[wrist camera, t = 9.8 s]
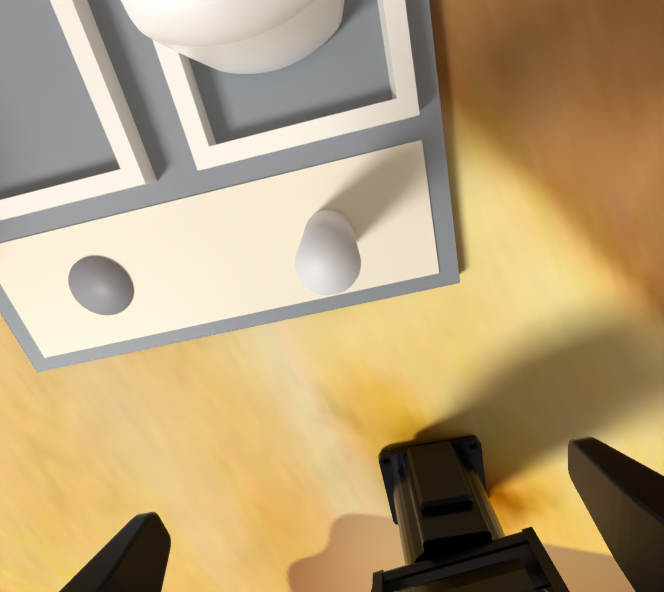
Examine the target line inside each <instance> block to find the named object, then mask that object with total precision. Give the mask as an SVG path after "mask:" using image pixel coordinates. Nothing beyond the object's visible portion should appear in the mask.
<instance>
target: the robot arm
mask: <svg viewBox="0 0 664 592" xmlns="http://www.w3.org/2000/svg"><path fill="white" fill-rule="evenodd" d="M472 443H474V444H472ZM470 444H472V445H470ZM386 458H389V459H386ZM379 464H380V468H381V472H382V476H383V480H384V484H385V489H386V493H387V497H388V501H389V505H390V509H391V513H392V518H393V521H394V523H395V524H397V525H398V526H399V532H400V537H401V543H402V548H403V554H404V560H405V566H402V567H398V568H395V569H391V570H388V571H383V570H380V571H377V572H374V573H373V584H372V589H371V592H570V591H569V590H568V588H567V587H566V584H565V583H564V581H563V579H562V578H561V576H560V575H559V572H558V571H557V569H556V567H555V566H554V564H553V562H552V561H551V559H550V557H549V555H548V554H547V552H546V550H545V548H544V547H543V545H542V543H541V541H540V540H539V538H538V536H537V535H536V533H535V531H534V529H533V528H532V527H529V528H525V529H522V532H519V533H516V534H512V535H509V536H505V534H504V532H503V530H502V527H501V525H500V523H499V521H498V518H497V516H496V514H495V512H494V509H493V507H492V505H491V503H490V501H489V498H488V496H487V494H486V487H485V478H484V469H483V459H482V450H481V444H480V441H479V439H478V438H477V437H476V436H465V437H459V438H454V439H448V440H442V441H437V442H431V443H425V444H420V445H414V446H408V447H403V448H397V449H392V450H386V451H382V452H381V453H380V454H379ZM568 471H569V475H570V477H571V480H572V482H573V484H574V486H575V487H576V489H577V491H578V493H579V495H580V497H581V499H582V500H583V502H584V504H585V506H586V508H587V510H588V511H589V513H590V515H591V517H592V519H593V521H594V522H595V524H596V526H597V528H598V530H599V532H600V533H601V535H602V537H603V539H604V541H605V543H606V544H607V546H608V548H609V550H610V552H611V553H612V555H613V557H614V559H615V560H616V562H617V564H618V565H619V567H620V568H621V570H622V571H623V573H624V574H625V576H626V578H627V579H628V581H629V582H630V583H631V585H632V587H633V588H634V590H635V591H636V592H664V476H663V475H661V474H659V473H657V472H655V471H654V470H652V469H650V468H648V467H646V466H645V465H643V464H641V463H639V462H637V461H635V460H634V459H632V458H630V457H628V456H626V455H625V454H623V453H621V452H619V451H617V450H616V449H614V448H612V447H610V446H608V445H606V444H605V443H603V442H601V441H599V440H597V439H595V438H593V437H582V438H576V439H572V440H570V441H569V444H568ZM170 547H171V538H170V535H169V533H168V531H167V529H166V528H165V526H164V524H163V522H162V521H161V519H160V517H159V515H158V514H157V513H155V512H149V513H143V514H139V515H136V516H135V517H134V518H133V519H131V520H130V521H129V522H128V523H127V524H126V525H125V526H124V527H123V528H122V529H121V530H120V531H119V532H118V533H117V534H116V535H115V536H114V537H113V538H112V539H111V540H110V541H109V542H108V543H107V544H106V545H105V546H104V547H103V548H102V549H101V550H100V551H99V552H98V553H97V554H96V555H95V556H94V557H93V558H92V559H91V560H90V561H89V562H88V563H87V564H86V565H85V566H84V567H83V568H82V569H81V570H80V571H79V572H78V573H77V574H76V575H75V576H74V577H73V578H72V579H71V580H70V581H69V582H68V583H67V584H66V585H65V586H64V587H63V588H62V589H61V590H60V591H59V592H161V590H162V586H163V581H164V576H165V571H166V567H167V562H168V557H169V552H170Z"/></svg>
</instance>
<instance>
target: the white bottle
mask: <svg viewBox="0 0 664 592" xmlns="http://www.w3.org/2000/svg"><path fill="white" fill-rule="evenodd" d="M121 2H122V4H123V6H124V8H125V10H126V12H127V14H128V16H129V17H130V19H131V20H132V22H133V23H134V24H135V26H136V27H137V28H138V29H139V31H141V32H142V33H143V34H144V35H146V36H148V37H149V38H151V39H153V40H155V41H156V42H158V43H160V44H162V45H164V46H166V47H168V48H170V49H172V50H174V51H176V52H178V53H181V54H183V55H185V56H187V57H189V58H191V59H194V60H196V61H198V62H200V63H203V64H205V65H207V66H209V67H212V68H214V69H216V70H218V71H222V72H226V73H234V74H258V73H266V72H271V71H275V70H279V69H282V68H285V67H287V66H290V65H292V64H294V63H296V62H298V61H300V60H302V59H304V58H305V57H307V56H308V55H310V54H311V53H313V52H314V51H315V50H317V49H318V48H319V47H320V46H322V45H323V44H324V43H325V42H326V41H327V40H328V39H329V38H330V37H331V36H332V35H333V34H334V33H335V32H336V31H337V29H338V27H339V25H340V23H341V20H342V14H343V7H344V0H121Z"/></svg>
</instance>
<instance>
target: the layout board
mask: <svg viewBox="0 0 664 592" xmlns="http://www.w3.org/2000/svg"><path fill="white" fill-rule="evenodd" d="M457 283H460V278H459V269H458V260H457V250H456V241H455V232H454V223H453V214H452V205H451V196H450V187H449V177H448V168H447V159H446V150H445V141H444V132H443V123H442V114H441V105H440V95H439V86H438V77H437V68H436V59H435V50H434V41H433V32H432V22H431V13H430V4H429V0H344V7H343V14H342V20H341V23H340V25H339V27H338V29H337V31H336V32H335V33H334V34H333V35H332V36H331V37H330V38H329V39H328V40H327V41H326V42H325V43H324V44H323V45H322V46H320V47H319V48H318V49H317V50H315V51H314V52H313V53H311V54H310V55H308V56H307V57H305V58H304V59H302V60H300V61H298V62H296V63H294V64H292V65H290V66H287V67H285V68H282V69H279V70H275V71H271V72H266V73H258V74H234V73H226V72H222V71H218V70H216V69H214V68H212V67H209V66H207V65H205V64H203V63H200V62H198V61H196V60H194V59H191V58H189V57H187V56H185V55H183V54H181V53H178V52H176V51H174V50H172V49H170V48H168V47H166V46H164V45H162V44H160V43H158V42H156V41H155V40H153V39H151V38H149V37H148V36H146V35H144V34H143V33H142V32H141V31H139V29H138V28H137V27H136V26H135V24H134V23H133V22H132V20H131V19H130V17H129V16H128V14H127V12H126V10H125V8H124V6H123V4H122V2H121V0H0V313H1V315H2V317H3V318H4V320H5V322H6V323H7V325H8V326H9V328H10V330H11V331H12V333H13V334H14V336H15V338H16V339H17V341H18V343H19V344H20V346H21V347H22V349H23V351H24V352H25V354H26V356H27V357H28V359H29V360H30V362H31V364H32V365H33V367H34V369H35V370H36V372H41V371H45V370H50V369H55V368H60V367H64V366H69V365H74V364H79V363H83V362H88V361H93V360H97V359H102V358H107V357H112V356H116V355H121V354H126V353H131V352H135V351H140V350H145V349H149V348H154V347H159V346H164V345H168V344H173V343H178V342H182V341H187V340H192V339H197V338H201V337H206V336H211V335H216V334H220V333H225V332H230V331H234V330H239V329H244V328H249V327H253V326H258V325H263V324H268V323H272V322H277V321H282V320H286V319H291V318H296V317H301V316H305V315H310V314H315V313H320V312H324V311H329V310H334V309H338V308H343V307H348V306H353V305H357V304H362V303H367V302H372V301H376V300H381V299H386V298H390V297H395V296H400V295H405V294H409V293H414V292H419V291H424V290H428V289H433V288H438V287H442V286H447V285H452V284H457Z"/></svg>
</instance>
